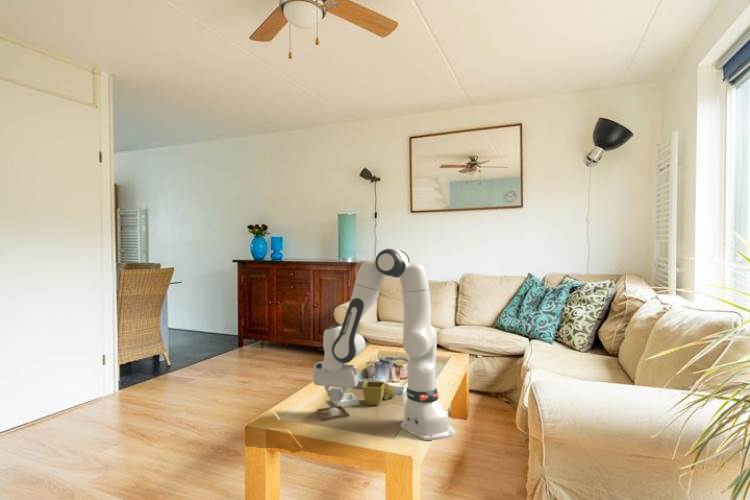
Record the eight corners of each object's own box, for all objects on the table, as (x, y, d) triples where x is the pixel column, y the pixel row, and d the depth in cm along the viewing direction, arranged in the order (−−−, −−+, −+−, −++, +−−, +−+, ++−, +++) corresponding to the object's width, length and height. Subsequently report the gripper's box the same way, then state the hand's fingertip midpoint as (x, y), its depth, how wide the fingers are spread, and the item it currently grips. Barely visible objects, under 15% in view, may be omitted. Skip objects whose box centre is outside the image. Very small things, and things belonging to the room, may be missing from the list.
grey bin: (359, 405, 181) (358, 398, 181) (337, 409, 177) (337, 402, 177) (351, 398, 190) (351, 392, 190) (331, 402, 187) (331, 395, 187)
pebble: (343, 398, 173) (343, 387, 174) (339, 401, 169) (339, 390, 169) (333, 397, 175) (333, 387, 175) (329, 401, 170) (329, 390, 171)
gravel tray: (349, 417, 167) (349, 413, 167) (323, 421, 163) (323, 418, 163) (341, 408, 177) (341, 405, 178) (317, 412, 173) (317, 409, 173)
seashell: (384, 410, 187) (394, 398, 184) (372, 400, 187) (382, 388, 185) (389, 399, 196) (399, 388, 194) (378, 389, 197) (387, 378, 194)
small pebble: (338, 417, 167) (338, 409, 167) (331, 418, 165) (331, 411, 165) (335, 414, 169) (335, 407, 169) (329, 416, 168) (329, 408, 168)
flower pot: (381, 408, 178) (381, 387, 178) (362, 407, 179) (362, 386, 180) (385, 401, 186) (385, 381, 187) (367, 400, 188) (366, 381, 188)
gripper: (359, 363, 171) (361, 396, 170) (318, 361, 179) (319, 392, 178) (353, 366, 165) (354, 400, 165) (310, 364, 173) (312, 397, 173)
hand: (336, 396), depth 172 cm, fingers closed on pebble, 5 cm apart
